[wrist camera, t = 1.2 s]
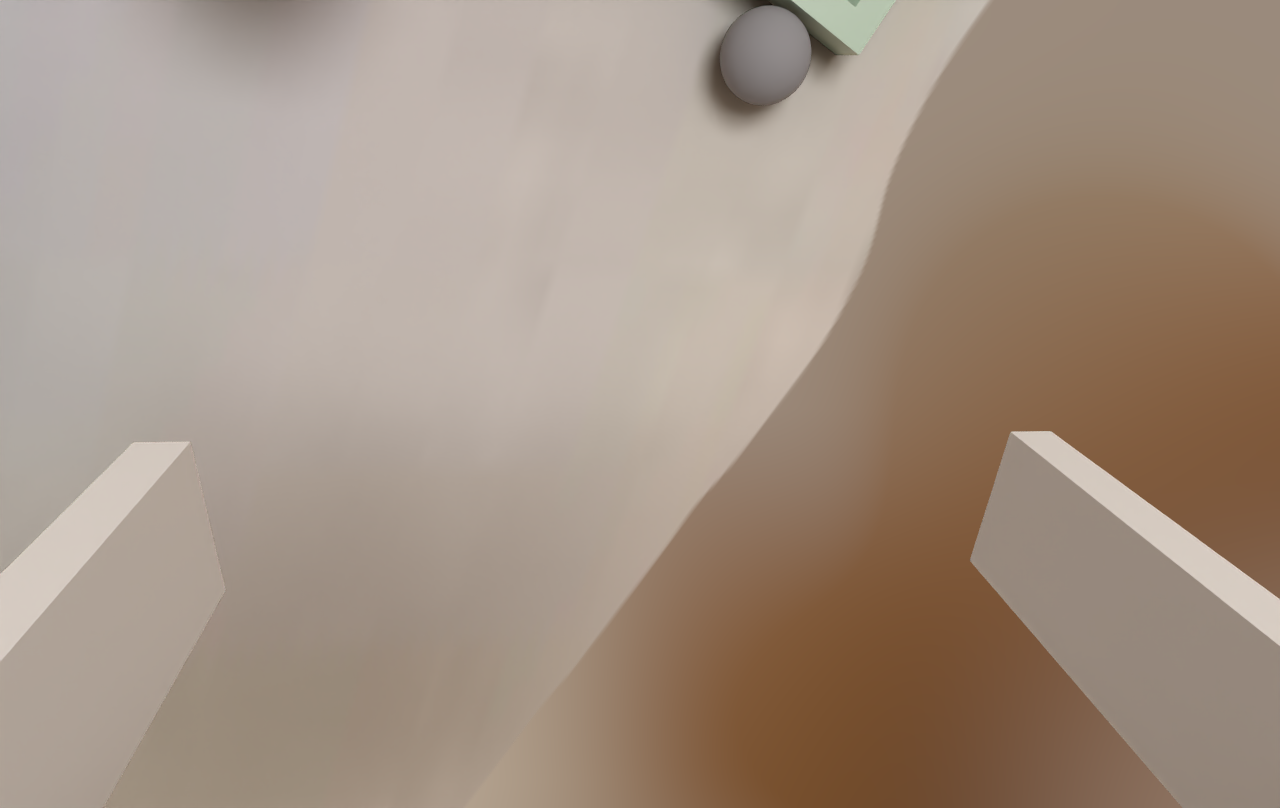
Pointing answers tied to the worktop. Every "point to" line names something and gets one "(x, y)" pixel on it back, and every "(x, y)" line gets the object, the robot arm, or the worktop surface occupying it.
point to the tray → (839, 21)
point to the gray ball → (765, 55)
